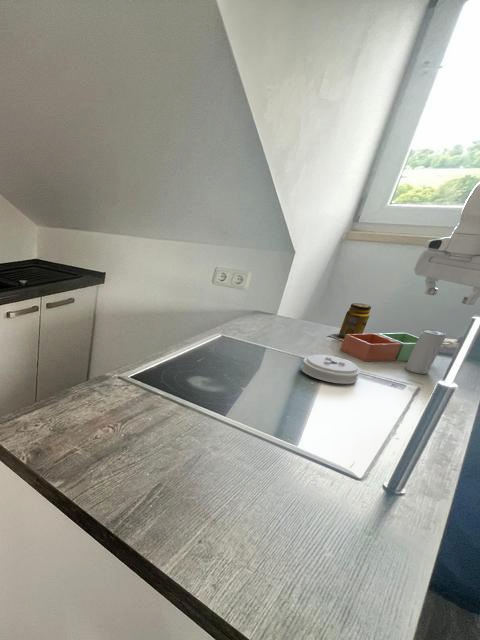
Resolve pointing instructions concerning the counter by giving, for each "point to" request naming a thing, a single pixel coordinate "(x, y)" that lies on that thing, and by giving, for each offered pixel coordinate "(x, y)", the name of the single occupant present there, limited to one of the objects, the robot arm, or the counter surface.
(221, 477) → the counter surface
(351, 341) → the terracotta bin
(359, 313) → the condiment
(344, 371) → the lid
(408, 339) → the green bin
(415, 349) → the beverage can
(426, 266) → the robot arm
